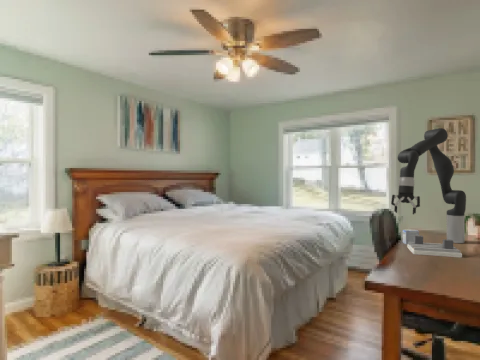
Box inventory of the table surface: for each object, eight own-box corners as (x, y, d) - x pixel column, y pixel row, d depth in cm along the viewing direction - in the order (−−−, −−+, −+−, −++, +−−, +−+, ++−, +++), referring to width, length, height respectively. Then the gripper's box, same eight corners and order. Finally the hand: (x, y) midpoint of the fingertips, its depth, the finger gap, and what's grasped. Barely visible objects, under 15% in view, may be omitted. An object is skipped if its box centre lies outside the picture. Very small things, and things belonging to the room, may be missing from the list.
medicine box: (415, 243, 183) (415, 229, 182) (419, 244, 178) (419, 230, 178) (402, 242, 183) (402, 229, 183) (405, 244, 179) (405, 230, 179)
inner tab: (414, 244, 168) (414, 235, 168) (421, 245, 167) (421, 235, 167) (415, 245, 166) (415, 236, 165) (423, 246, 164) (423, 236, 164)
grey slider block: (442, 249, 157) (442, 239, 157) (451, 250, 155) (451, 239, 155) (444, 250, 154) (444, 240, 154) (453, 251, 153) (453, 240, 153)
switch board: (407, 247, 172) (407, 241, 172) (450, 250, 164) (450, 244, 164) (413, 254, 157) (413, 247, 157) (462, 257, 149) (461, 250, 149)
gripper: (420, 186, 165) (418, 214, 164) (392, 184, 172) (390, 212, 171) (421, 185, 158) (419, 215, 158) (392, 184, 165) (390, 212, 164)
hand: (404, 213), depth 164 cm, fingers open, 8 cm apart
